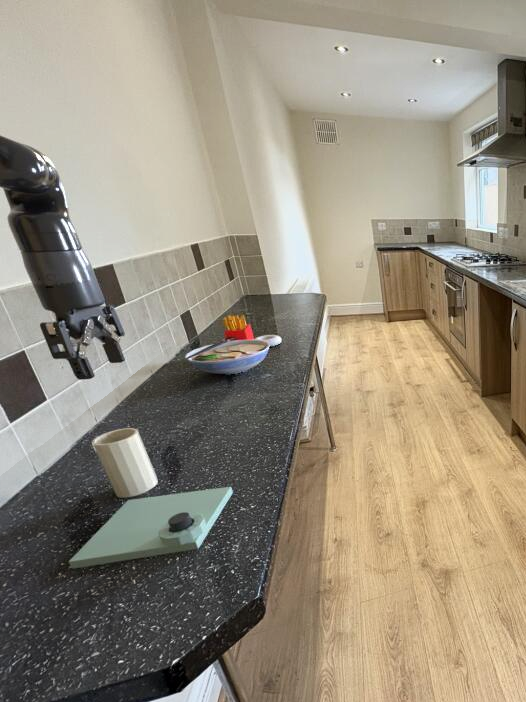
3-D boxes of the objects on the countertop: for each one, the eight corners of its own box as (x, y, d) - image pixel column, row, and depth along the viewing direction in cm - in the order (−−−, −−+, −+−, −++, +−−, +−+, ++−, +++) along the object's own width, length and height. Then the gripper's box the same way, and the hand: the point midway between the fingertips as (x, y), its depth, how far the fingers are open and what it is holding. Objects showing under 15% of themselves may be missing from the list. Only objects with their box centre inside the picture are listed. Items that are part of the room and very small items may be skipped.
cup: (108, 500, 73) (82, 447, 69) (128, 480, 78) (106, 430, 74) (147, 495, 74) (124, 442, 70) (164, 476, 80) (144, 426, 75)
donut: (254, 351, 152) (284, 346, 157) (251, 342, 150) (282, 338, 155) (252, 345, 159) (280, 340, 164) (249, 336, 158) (278, 332, 163)
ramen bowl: (246, 386, 121) (238, 360, 118) (170, 386, 121) (160, 360, 118) (290, 358, 144) (285, 336, 141) (226, 358, 144) (219, 336, 141)
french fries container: (230, 359, 143) (218, 320, 138) (236, 352, 151) (225, 314, 145) (253, 357, 145) (242, 318, 140) (257, 350, 153) (248, 313, 148)
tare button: (168, 534, 61) (164, 525, 61) (176, 522, 64) (173, 513, 63) (187, 531, 62) (184, 522, 61) (195, 519, 64) (192, 510, 64)
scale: (70, 570, 58) (61, 554, 57) (130, 506, 71) (124, 492, 70) (199, 549, 62) (193, 534, 61) (234, 492, 75) (230, 478, 74)
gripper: (69, 273, 73) (104, 359, 80) (-2, 286, 60) (46, 387, 67) (118, 272, 75) (149, 356, 81) (59, 284, 62) (101, 382, 68)
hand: (102, 370), depth 74 cm, fingers open, 8 cm apart
